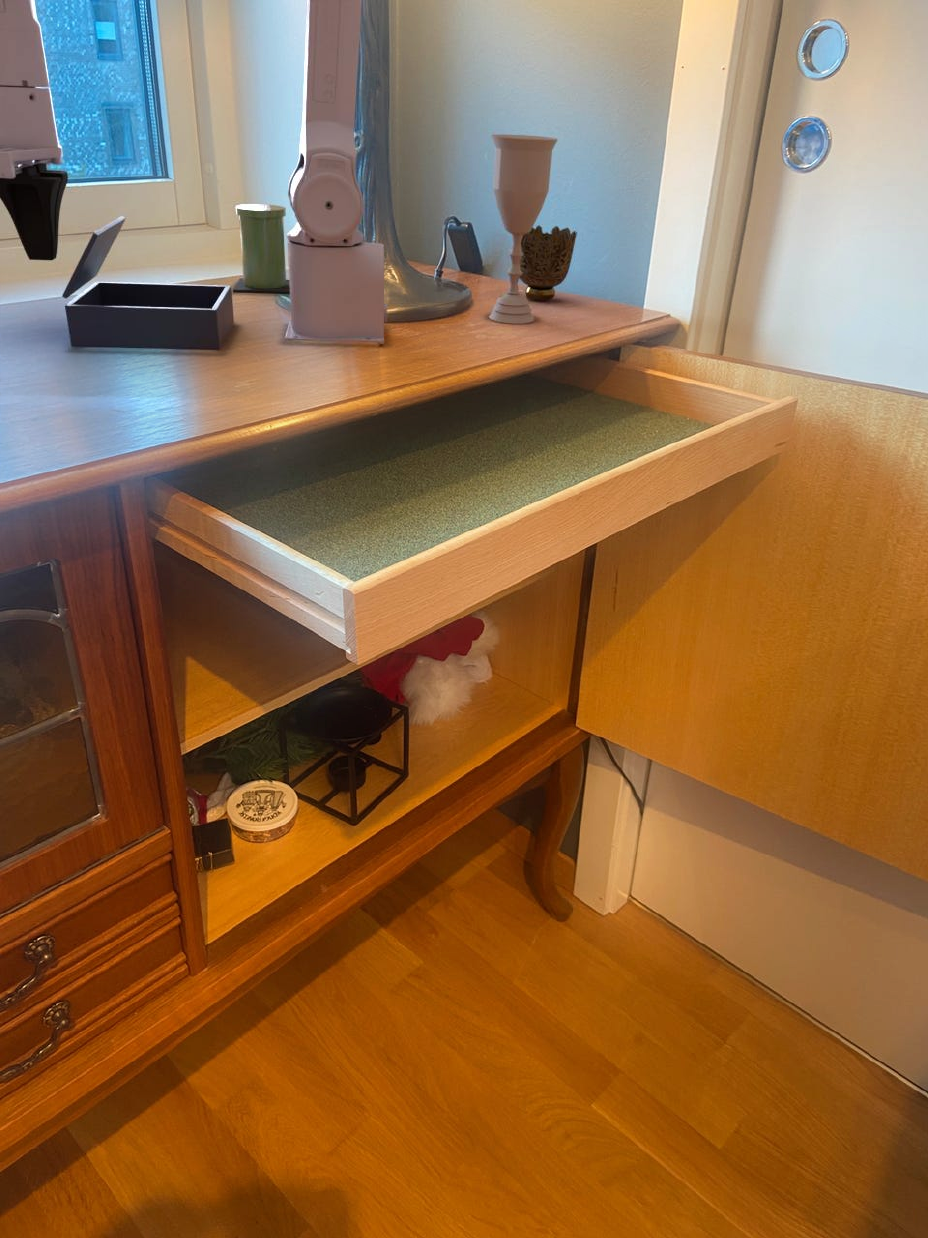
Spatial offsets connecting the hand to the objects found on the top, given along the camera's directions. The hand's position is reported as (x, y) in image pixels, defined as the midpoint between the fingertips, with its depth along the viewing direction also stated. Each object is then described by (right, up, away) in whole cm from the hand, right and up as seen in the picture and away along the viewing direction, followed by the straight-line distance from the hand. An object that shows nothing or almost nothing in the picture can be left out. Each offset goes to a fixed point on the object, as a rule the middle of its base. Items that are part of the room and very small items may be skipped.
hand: (42, 258), depth 84 cm
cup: (+47, +6, +29) cm, 56 cm away
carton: (+9, -6, +4) cm, 12 cm away
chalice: (+44, +1, +19) cm, 48 cm away
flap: (+5, 0, 0) cm, 5 cm away
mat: (+15, +7, +27) cm, 31 cm away
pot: (+14, +7, +26) cm, 31 cm away
